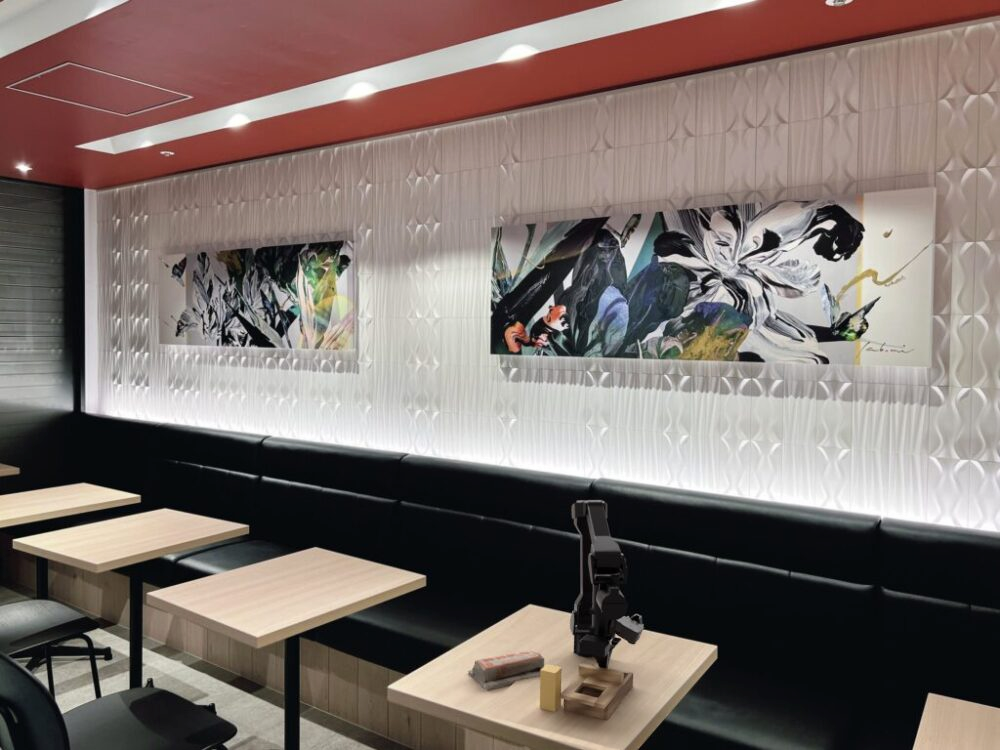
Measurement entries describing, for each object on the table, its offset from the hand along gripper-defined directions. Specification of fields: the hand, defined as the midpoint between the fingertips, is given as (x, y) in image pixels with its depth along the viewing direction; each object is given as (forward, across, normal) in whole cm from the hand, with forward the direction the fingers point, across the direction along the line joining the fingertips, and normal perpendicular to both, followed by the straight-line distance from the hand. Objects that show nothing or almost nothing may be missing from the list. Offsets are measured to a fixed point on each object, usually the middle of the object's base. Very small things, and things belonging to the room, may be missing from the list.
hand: (603, 671), depth 178 cm
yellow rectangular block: (+6, -12, +8) cm, 15 cm away
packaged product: (+6, 0, +23) cm, 24 cm away
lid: (+1, -7, 0) cm, 7 cm away
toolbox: (+6, -3, 0) cm, 6 cm away
